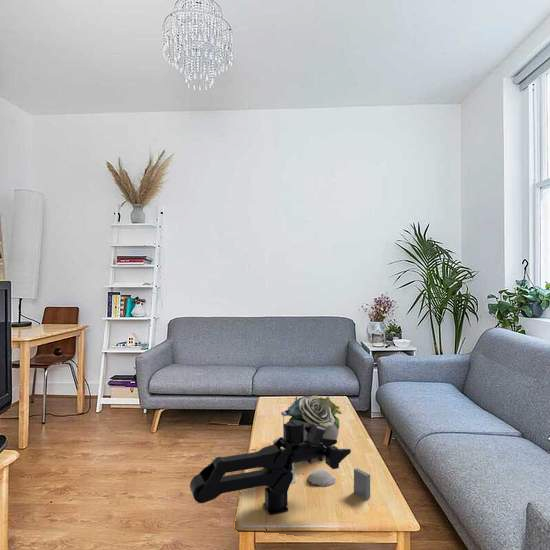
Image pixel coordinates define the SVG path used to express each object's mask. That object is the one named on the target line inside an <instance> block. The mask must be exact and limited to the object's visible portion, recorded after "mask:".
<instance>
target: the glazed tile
mask: <svg viewBox="0 0 550 550" xmlns="http://www.w3.org/2000/svg"><path fill="white" fill-rule="evenodd" d="M353 493H354V494H356V495H357V494H358V495H357V496H359V497H361V498H362V499H364V498H365V499H364V500H366V501H368V500H370V499H369V498H371V474H370V473H367V472H366V471H363V470H362V469H360V468H356V467H355V468H354V469H353Z"/></svg>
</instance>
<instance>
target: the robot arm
mask: <svg viewBox="0 0 550 550" xmlns="http://www.w3.org/2000/svg"><path fill="white" fill-rule="evenodd" d="M282 425H283V426H282V428H283V429H284V438H282V437H283V436H280V437H278V438H279V439H278V440H277V441H276V442H275V443H274V444H273V443H272V444H271V445H267V446H264V447H263V448H261V449H259V450H258V451H254V452H247V453H241V454H234V455H228V456H217V457H215V458H214V459H213V460H212V461H211V463H210V464H208V465H207V466H205V467H204V468H203V469H202V470H201V471H200V472H199V473H198V474H196V475H194V476H193V478H192V479H191V480H190V483H189V489H190V492H191V494H192V496H193V498H194V501H195V502H197V503H198V504H205V503H208V502H210V501H214V500H215V499H217V498H218V497H220V495H222V494H225V493H227V494H228V493H230V492H231V493H233V492H237V491H242V490H249V489H254V488H258V487H264V486H265V488H264V503H263V504H262V505H263V507H264V508H265V510H266V512H267V513H268V515H275V514H279V513H280V514H281V513H285V512H288V511H289V508H288V504H289V503H288V499H289V498H288V496H289V495H288V492H289V489H290V484H291V482H292V480H293V474H292V464H293V463H294V464H297V463H304V462H307V464H312V462H313V461H315V460H317V461H318V462H323V458H324V457H325V458H324V459H325V462H324V463H325V465H327V466H328V467H329V468H330V469H332V470H337V469H339V468H340V463H342V461H343V460H344V459H345V458H346V457H347V456H349V455H350V454H351V452H352V450H351V448H338V447H337V446H335V445H336V444H337V443H338V439H337V440H335V439H329V438H323V435H324V433H325V429H324V428H323V427H321V426H319V425H316V424H314V423H312V424H311V423H310V424H309V425H306V426H305V428H304V422H302V421H300V420H290V421H289V420H288V421H287V422H285V423H284V424H282ZM304 430H305V431H306V432H307V435H306V440H304ZM303 440H304V441H303ZM281 446H282V447H281ZM282 448H284V450H282ZM257 468H262V469H259V470H252V471H248V472H241V471H245V470H251V469H257ZM239 471H240V473H235V474H229V475H225V474H228V473H233V472H239ZM291 485H292V484H291Z"/></svg>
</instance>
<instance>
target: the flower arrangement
mask: <svg viewBox="0 0 550 550" xmlns="http://www.w3.org/2000/svg"><path fill="white" fill-rule="evenodd" d="M284 412H286V415H285V416H284V417H287V416H289V417H290V418H289V419H288V421H290V420H300V421H302V422H304V428H305V426H306V425H309V424H310V423H311V424H312V423H314V424H316V425H319V426H321V427H323V428H324V429H325V433H324V435H323V438H329V439H335V440H337V441H338V437H339V432H340V431H339V430H340V419H339V418H338V417H337V416H336V414H338V415H342V411H341V410H340V406H338V405H336V404H335V402H333V401H332V400H331V399H330V397H329V396H326V397H323V396H318V395H314V394H310V395H309V394H308V395H305V396H302V397H299V398H298V396H295V398H294V401H293V402H292V404H291V405H290V406H289V407H288V408H287V409H285V410H284ZM306 435H307V432H306V431H305V430H304V440H306ZM304 440H303V441H304Z"/></svg>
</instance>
